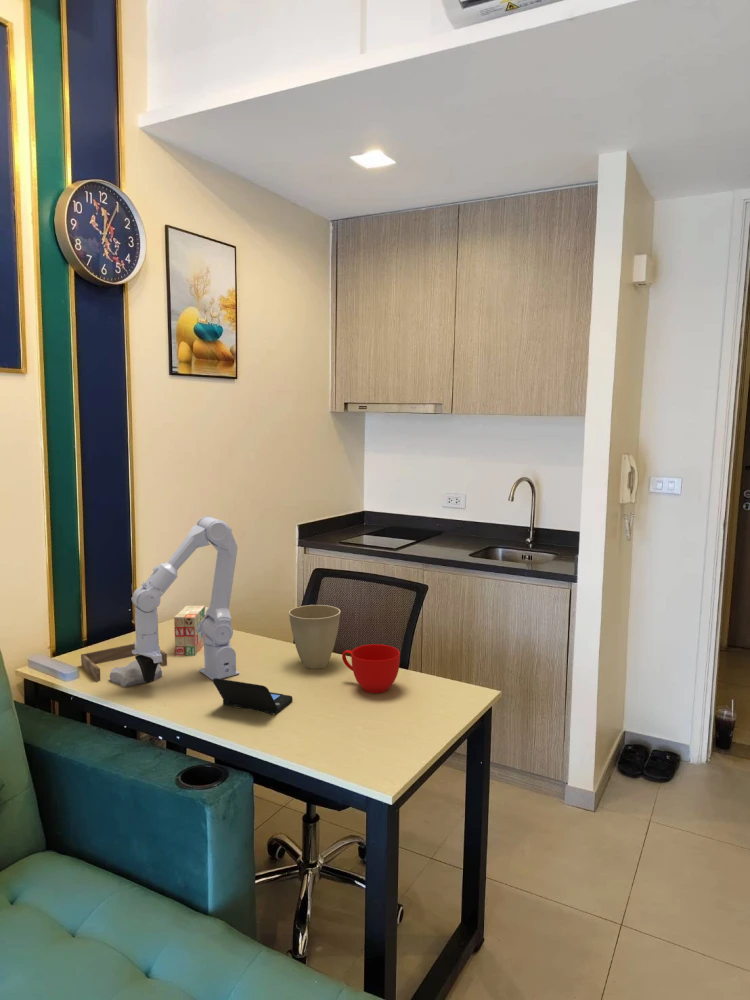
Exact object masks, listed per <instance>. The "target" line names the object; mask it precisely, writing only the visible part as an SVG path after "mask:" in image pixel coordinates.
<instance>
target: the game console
mask: <svg viewBox="0 0 750 1000" xmlns="http://www.w3.org/2000/svg"><path fill="white" fill-rule="evenodd" d="M212 682H213V684H214V686H215V688H216V690H217V691H218V694H219V696H220V697H221V698H222V705H223V706H224V707H225V706H227V707H233V708H239V709H247V710H248V709H249V710H252V711H256V712H260V713H264V714H265V713H266V714H270V715H277V714H278V713H280V711H282V710H283V709H284V708H286V707H287V706H288V705H290V704H291V703H292V702H293V696H292V695H288V694H283V693H277V692H272V691H270V689H269V688H268V687H267V686H265V685H262V684H257V683H255V684H254V683H248V682H243V681H236V680H229V679H225V678H221V679H218V678H214V679H213V680H212Z"/></svg>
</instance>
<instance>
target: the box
mask: <svg viewBox="0 0 750 1000" xmlns="http://www.w3.org/2000/svg"><path fill="white" fill-rule="evenodd" d="M132 650H135V646H134V643H131V644H127V645H121V646H116V647H110V648H106V649H101V650H96V651H91V652H87V653H86V652H85V653H81V654H80V659H81V662H80V663H81V667H82V669H84V670H85V671H86V672H87V673H88V674H89V675H90V676H91V677H92V678H94V680H95V681H96V682H101V668H100V666H98V664H103V663H106V662H107V663H108V662H111V661H117V660H121V659H124V658H126V659H127V658H129V657H134V656H137V655H140V654H133V653H132ZM160 653H161V655H162V662H159V664H161V665H163V667H166V666H168V661H167V660H168V657H167V656H168V655H167V652H165V651H163V650H162V649H160Z"/></svg>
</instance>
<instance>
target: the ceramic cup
mask: <svg viewBox="0 0 750 1000" xmlns="http://www.w3.org/2000/svg"><path fill="white" fill-rule="evenodd" d="M347 654H349V655H351V659H350V660H351V664H350V663H349V661H348V659H347V656H346V655H347ZM341 658H342V662H343V664H344V665H345V666H346V667H347V668H348V669H349V670H350V671H352V672H353V675H354V679H355V680H356V682H357V683H358V684H359V686H360V687H361V688H362V689H363V690H364V691H365V692H367V693H370V694H381V693H385V692H387V691H388V690H389V688H390V687H391V686H392V685H393V684H394V682H395V681H396V679H397V677H398V674H399V669H400V663H401V652H400V650H399V649H398V648H396V647H394V646H392V645H387V644H379V643H378V644H377V643H376V644H375V643H372V644H371V643H370V644H364V645H360V646H357V647H355V648H353V649H352V650H350V649H347V650H345V651H343V652H342V655H341Z"/></svg>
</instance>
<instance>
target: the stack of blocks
mask: <svg viewBox="0 0 750 1000" xmlns="http://www.w3.org/2000/svg"><path fill="white" fill-rule="evenodd" d="M209 607H210V606H206V605H185V606H184V607H183V608H182V609H181V610H180V611H179V612H178V613H177V614H176V615H174V616H173V622H174V624H173V625H174V645H175V646H174V651H175V652H174V653H175V654H174V655H175V656H190V657H191V656H196V655H197V654H198V653H199V652H200V651H201V649H203V648H204V639H205V635H204V634H203V633H202V631H201V623H202V621H203V619H204V618H205V615H206V611H207V609H208V608H209Z"/></svg>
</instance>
